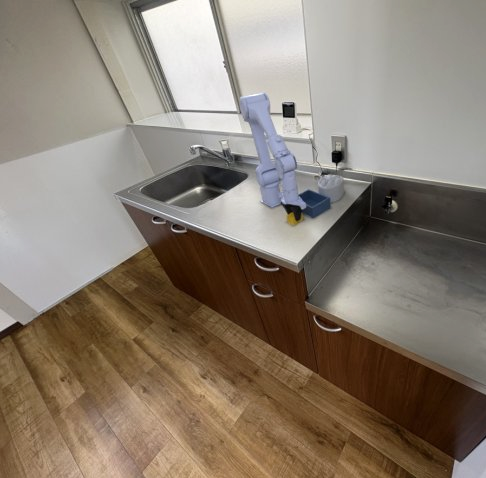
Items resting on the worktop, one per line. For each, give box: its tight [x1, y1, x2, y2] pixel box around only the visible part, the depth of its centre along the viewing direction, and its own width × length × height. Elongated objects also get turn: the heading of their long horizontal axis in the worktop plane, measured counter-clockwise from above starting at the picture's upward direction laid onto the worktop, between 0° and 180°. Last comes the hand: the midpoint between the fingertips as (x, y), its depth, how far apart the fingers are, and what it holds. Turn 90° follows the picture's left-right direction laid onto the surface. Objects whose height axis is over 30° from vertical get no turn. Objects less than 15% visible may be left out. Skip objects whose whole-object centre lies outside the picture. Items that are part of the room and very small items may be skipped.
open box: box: [293, 188, 332, 219], centre depth 106 cm, size 13×10×5 cm
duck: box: [285, 212, 304, 226], centre depth 100 cm, size 4×6×6 cm
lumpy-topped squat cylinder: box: [317, 174, 345, 204], centre depth 111 cm, size 10×13×9 cm
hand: (294, 218), depth 100 cm, fingers closed on duck, 4 cm apart
